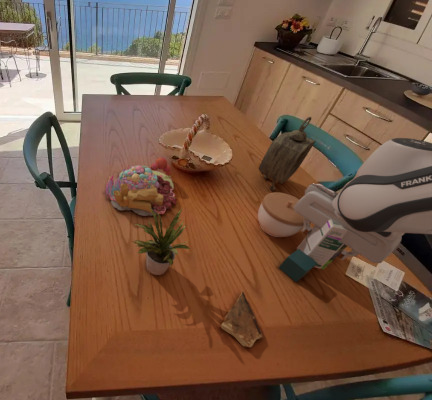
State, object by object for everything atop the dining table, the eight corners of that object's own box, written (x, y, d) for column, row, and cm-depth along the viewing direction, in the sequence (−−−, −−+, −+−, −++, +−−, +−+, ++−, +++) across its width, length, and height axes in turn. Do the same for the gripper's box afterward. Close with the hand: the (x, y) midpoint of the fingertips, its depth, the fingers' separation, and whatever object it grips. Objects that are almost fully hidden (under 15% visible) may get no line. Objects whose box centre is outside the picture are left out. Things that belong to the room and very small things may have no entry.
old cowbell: (274, 195, 93) (314, 129, 76) (249, 182, 98) (283, 117, 81) (291, 179, 100) (331, 116, 84) (267, 168, 105) (301, 106, 88)
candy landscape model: (181, 219, 82) (189, 197, 76) (104, 216, 81) (105, 193, 75) (169, 171, 100) (174, 149, 94) (106, 168, 99) (107, 146, 93)
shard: (240, 294, 64) (243, 290, 63) (272, 317, 61) (275, 314, 59) (218, 326, 58) (221, 322, 57) (252, 354, 55) (255, 350, 54)
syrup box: (299, 264, 71) (333, 227, 61) (296, 247, 75) (326, 210, 65) (323, 270, 70) (361, 234, 60) (318, 253, 74) (352, 216, 64)
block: (306, 273, 70) (317, 262, 66) (296, 282, 68) (306, 271, 64) (289, 259, 73) (298, 248, 69) (278, 267, 71) (287, 256, 67)
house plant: (142, 233, 77) (151, 190, 66) (189, 253, 72) (207, 211, 61) (120, 270, 67) (126, 227, 56) (172, 296, 63) (189, 255, 52)
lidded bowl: (267, 247, 76) (286, 220, 68) (242, 215, 85) (257, 188, 77) (304, 241, 78) (327, 215, 70) (277, 211, 87) (295, 185, 80)
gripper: (305, 183, 64) (278, 222, 73) (407, 242, 52) (359, 280, 61) (319, 176, 67) (291, 214, 76) (419, 230, 54) (371, 269, 64)
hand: (322, 244), depth 68 cm, fingers closed on syrup box, 8 cm apart
